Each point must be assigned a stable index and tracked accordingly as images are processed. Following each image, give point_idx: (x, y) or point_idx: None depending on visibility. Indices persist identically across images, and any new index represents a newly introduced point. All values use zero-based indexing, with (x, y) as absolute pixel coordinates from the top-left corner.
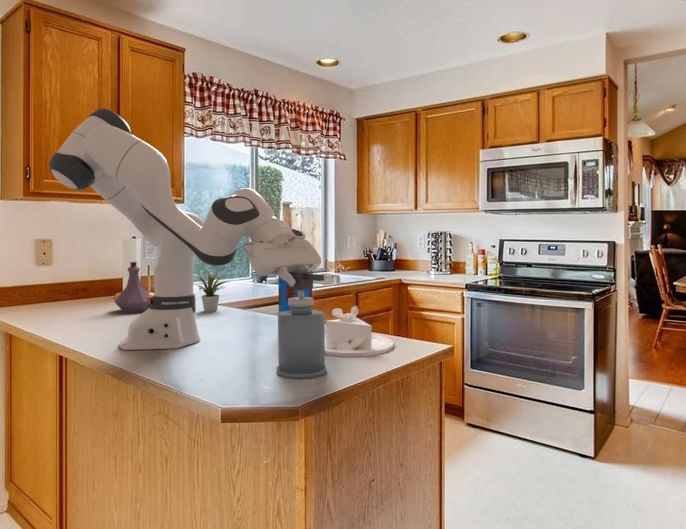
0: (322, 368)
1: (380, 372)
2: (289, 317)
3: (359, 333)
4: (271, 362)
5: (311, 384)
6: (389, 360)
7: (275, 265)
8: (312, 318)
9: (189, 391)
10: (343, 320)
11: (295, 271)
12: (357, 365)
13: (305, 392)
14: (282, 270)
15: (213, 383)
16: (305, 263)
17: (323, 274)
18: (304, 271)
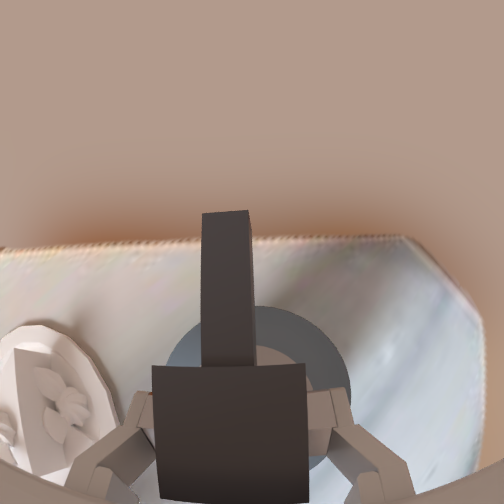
0: None
1: (162, 248)
2: (346, 371)
3: (30, 382)
4: None
5: (316, 301)
6: (84, 285)
7: (498, 465)
8: (282, 311)
9: (477, 422)
10: (13, 435)
11: (244, 487)
12: (146, 317)
13: (357, 274)
14: (406, 479)
15: (434, 441)
16: (85, 494)
17: (206, 214)
18: (193, 428)
